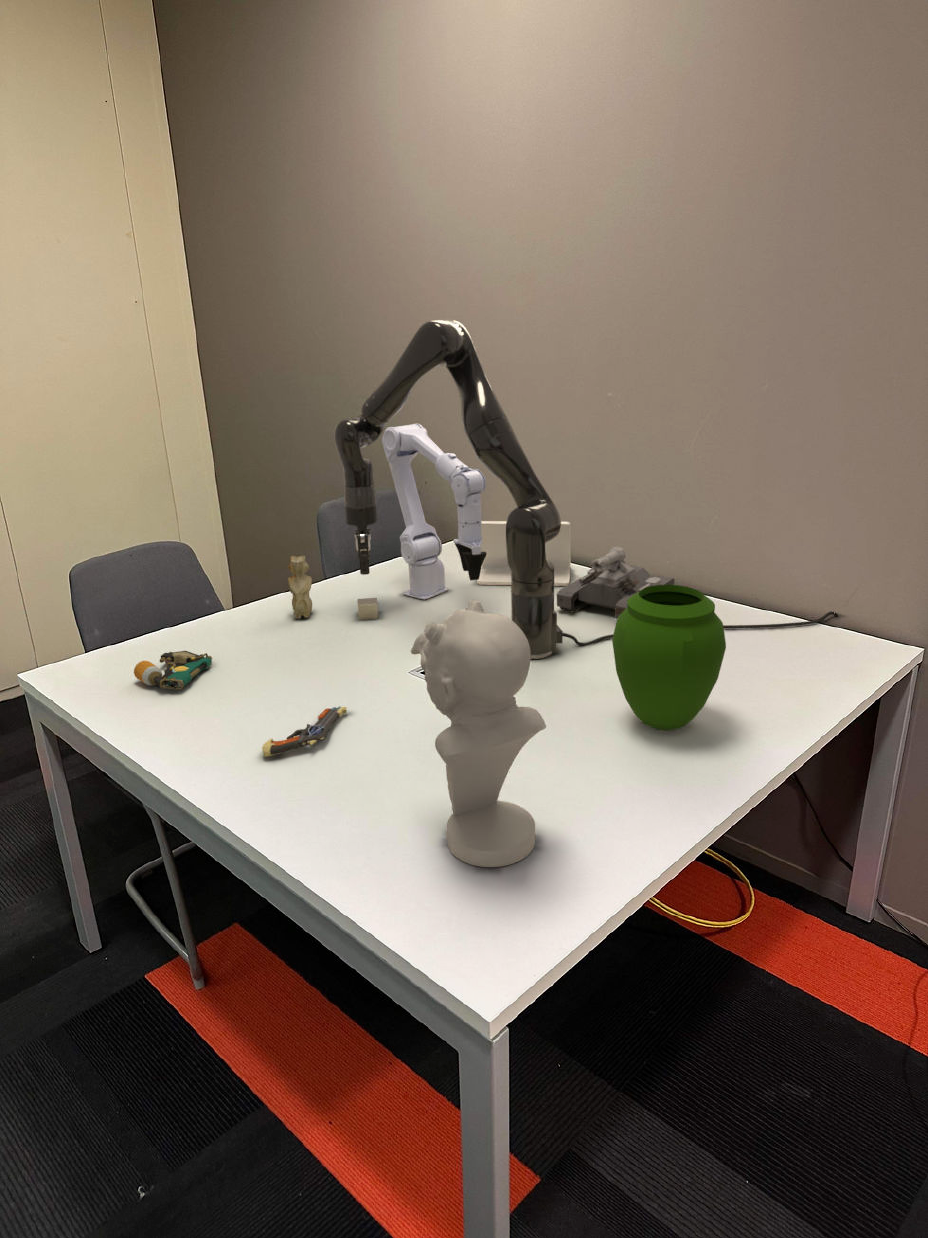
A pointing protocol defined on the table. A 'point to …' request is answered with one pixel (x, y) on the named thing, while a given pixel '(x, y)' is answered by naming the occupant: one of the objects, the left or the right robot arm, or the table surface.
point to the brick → (367, 608)
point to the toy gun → (305, 733)
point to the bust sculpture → (481, 729)
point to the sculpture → (300, 587)
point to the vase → (668, 654)
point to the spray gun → (172, 669)
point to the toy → (608, 584)
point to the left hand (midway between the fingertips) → (471, 574)
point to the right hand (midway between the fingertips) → (364, 568)
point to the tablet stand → (496, 557)
